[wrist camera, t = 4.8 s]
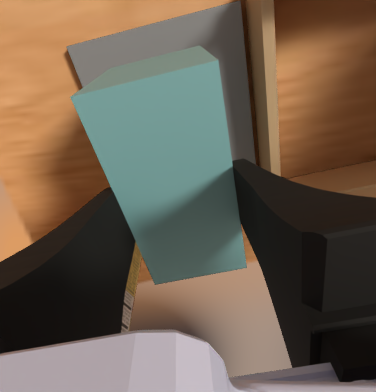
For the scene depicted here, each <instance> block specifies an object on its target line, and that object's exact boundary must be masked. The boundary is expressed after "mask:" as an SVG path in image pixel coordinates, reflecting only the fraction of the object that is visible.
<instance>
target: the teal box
mask: <svg viewBox="0 0 376 392" xmlns="http://www.w3.org/2000/svg"><path fill="white" fill-rule="evenodd" d="M71 100H72V102H73V104H74V106H75V109H76V111H77V113H78V115H79V117H80V120H81V122H82V124H83V126H84V128H85V131H86V133H87V135H88V137H89V140H90V142H91V144H92V146H93V148H94V151H95V153H96V155H97V157H98V159H99V162H100V164H101V166H102V168H103V171H104V173H105V175H106V177H107V179H108V182H109V184H110V186H111V188H112V190H113V192H114V194H115V196H116V198H117V201H118V203H119V205H120V207H121V209H122V212H123V214H124V216H125V218H126V220H127V223H128V225H129V227H130V229H131V232H132V234H133V236H134V238H135V240H136V244H137V246H138V248H139V250H140V252H141V255H142V257H143V259H144V261H145V263H146V266H147V268H148V270H149V272H150V275H151V277H152V279H153V281H154V283H155V285H156V284H162V283H167V282H172V281H177V280H183V279H189V278H193V277H199V276H204V275H210V274H216V273H221V272H227V271H232V270H237V269H242V268H247V265H246V258H245V251H244V244H243V236H242V229H241V222H240V217H239V210H238V203H237V196H236V188H235V181H234V173H233V164H232V156H231V149H230V142H229V135H228V127H227V120H226V113H225V106H224V98H223V91H222V84H221V77H220V69H219V62H218V60H217V59H216V58H215V57H214V56H213V55H211V54H210V53H209V52H208V51H206V50H205V49H204V48H203V47H201V46H200V45H199V46H195V47H191V48H188V49H184V50H180V51H176V52H172V53H168V54H164V55H160V56H156V57H152V58H148V59H144V60H140V61H137V62H133V63H129V64H125V65H121V66H117V67H113V68H110V69H108V70H107V71H106V72H104V73H103V74H101V75H100V76H99V77H97V78H96V79H94V80H93V81H92V82H90V83H89V84H88V85H86V86H85V87H83V88H82V89H81V90H79V91H78V92H76V93H75V94H74V95H72V96H71Z"/></svg>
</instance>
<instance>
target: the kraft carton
mask: <svg viewBox="0 0 376 392" xmlns="http://www.w3.org/2000/svg"><path fill="white" fill-rule="evenodd" d="M245 1H246V13H247V24H248V36H249V48H250V60H251V71H252V83H253V95H254V106H255V118H256V130H257V141H258V153H259V165H260V167H261V168H263V169H265V170H267V171H269V172H271V173H274V174H276V175H278V176H280V177H281V169H280V144H279V119H278V94H277V69H276V44H275V19H274V0H245ZM288 180H291V181H293V182H296V183H300V184H303V185H307V186H310V187H314V188H318V189H322V190H327V191H332V192H337V193H343V194H350V195H357V196H366V197H375V198H376V160H374V161H369V162H364V163H360V164H355V165H350V166H345V167H341V168H336V169H331V170H326V171H321V172H317V173H312V174H307V175H302V176H297V177H293V178H288Z"/></svg>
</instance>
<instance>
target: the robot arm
mask: <svg viewBox="0 0 376 392" xmlns="http://www.w3.org/2000/svg"><path fill="white" fill-rule="evenodd" d="M232 164H233V173H234V181H235V188H236V196H237V203H238V210H239V217H240V222H241V224H242V226H243V229H244V231H245V233H246V235H247V238H248V240H249V242H250V244H251V246H252V249H253V251H254V253H255V255H256V257H257V260H258V262H259V264H260V267H261V269H262V272H263V275H264V278H265V281H266V284H267V287H268V290H269V293H270V296H271V299H272V303H273V306H274V309H275V312H276V315H277V318H278V322H279V325H280V328H281V331H282V335H283V338H284V341H285V344H286V348H287V351H288V354H289V358H290V361H291V365H292V368H290V369H283V370H276V371H270V372H264V373H257V374H250V375H244V376H237V377H231V378H228V375H227V372H226V368H225V364H224V361H223V360H222V358H221V357H220V356H219V355H218V354H217V353H216V352H215V350H214V349H213V348H212V347H211V346H210V345H209V343H207V342H206V341H204V340H202V339H200V338H197V337H194V336H191V335H188V334H185V333H182V332H180V331H177V330H136V331H131V332H124V333H121V329H122V316H123V306H124V297H125V291H126V285H127V280H128V276H129V271H130V267H131V262H132V257H133V253H134V248H135V243H136V240H135V238H134V236H133V234H132V232H131V229H130V227H129V225H128V223H127V220H126V218H125V216H124V214H123V212H122V209H121V207H120V205H119V203H118V201H117V198H116V196H115V194H114V192H113V190H112V188H111V187H109V188H107V189H105V190H103V191H102V192H101V193H99V194H98V195H97V196H95V197H94V198H93V199H92V200H91V201H89V202H88V203H87V204H86V205H85V206H83V207H82V208H81V209H80V210H79V211H77V212H76V213H75V214H74V215H72V216H71V217H70V218H69V219H67V220H66V221H65V222H63V223H62V224H61V225H59V226H58V227H57V228H55V229H54V230H53V231H51V232H50V233H48V234H47V235H45V236H44V237H42V238H41V239H39V240H38V241H36V242H35V243H33V244H31V245H30V246H28V247H26V248H25V249H23V250H21V251H19V252H17V253H16V254H14V255H12V256H10V257H9V258H7V259H5V260H3V261H1V262H0V392H376V198H375V197H366V196H357V195H350V194H343V193H337V192H332V191H327V190H322V189H318V188H314V187H310V186H307V185H303V184H300V183H296V182H293V181H291V180H288V179H285V178H283V177H280V176H278V175H276V174H274V173H271V172H269V171H267V170H265V169H263V168H261V167H259V166H257V165H255V164H254V163H252V162H250V161H248V160H246V159H244V158H243V159H238V160H233V161H232Z"/></svg>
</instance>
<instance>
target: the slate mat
mask: <svg viewBox="0 0 376 392" xmlns="http://www.w3.org/2000/svg"><path fill="white" fill-rule="evenodd" d="M199 45H200V46H201V47H203V48H204V49H205V50H206V51H208V52H209V53H210V54H211V55H213V56H214V57H215V58H216V59H217V60H218V62H219V69H220V77H221V84H222V91H223V98H224V106H225V113H226V120H227V127H228V135H229V142H230V149H231V156H232V161H233V160H238V159H243V158H244V159H246V160H248V161H250V162H252V163H254V164H255V165H256V161H255V150H254V139H253V128H252V118H251V107H250V96H249V86H248V75H247V64H246V53H245V43H244V32H243V21H242V11H241V0H240V1H236V2H232V3H229V4H225V5H221V6H217V7H214V8H210V9H206V10H202V11H198V12H195V13H191V14H187V15H183V16H180V17H176V18H172V19H168V20H165V21H161V22H157V23H153V24H149V25H146V26H142V27H138V28H134V29H131V30H127V31H123V32H119V33H116V34H112V35H108V36H104V37H100V38H97V39H93V40H89V41H85V42H82V43H78V44H74V45H70V46H67V49H68V52H69V54H70V57H71V59H72V62H73V64H74V67H75V69H76V72H77V74H78V77H79V79H80V82H81V84H82V87H85V86H86V85H88V84H89V83H90V82H92V81H93V80H94V79H96V78H97V77H99V76H100V75H101V74H103V73H104V72H106V71H107V70H108V69H110V68H113V67H117V66H121V65H125V64H129V63H133V62H137V61H140V60H144V59H148V58H152V57H156V56H160V55H164V54H168V53H172V52H176V51H180V50H184V49H188V48H191V47H195V46H199Z"/></svg>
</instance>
